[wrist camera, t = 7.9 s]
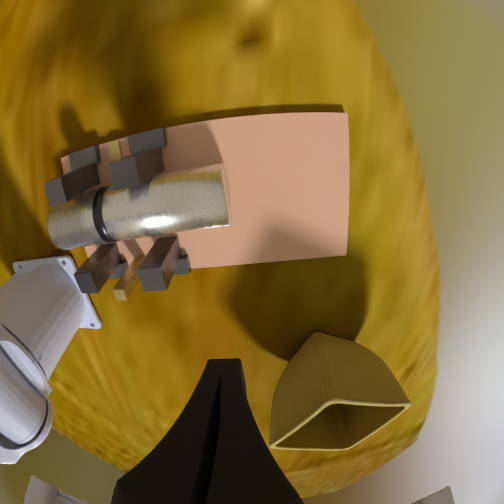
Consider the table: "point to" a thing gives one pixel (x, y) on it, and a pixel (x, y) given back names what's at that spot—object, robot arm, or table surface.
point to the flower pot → (333, 396)
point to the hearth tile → (259, 187)
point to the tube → (144, 209)
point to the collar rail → (123, 176)
